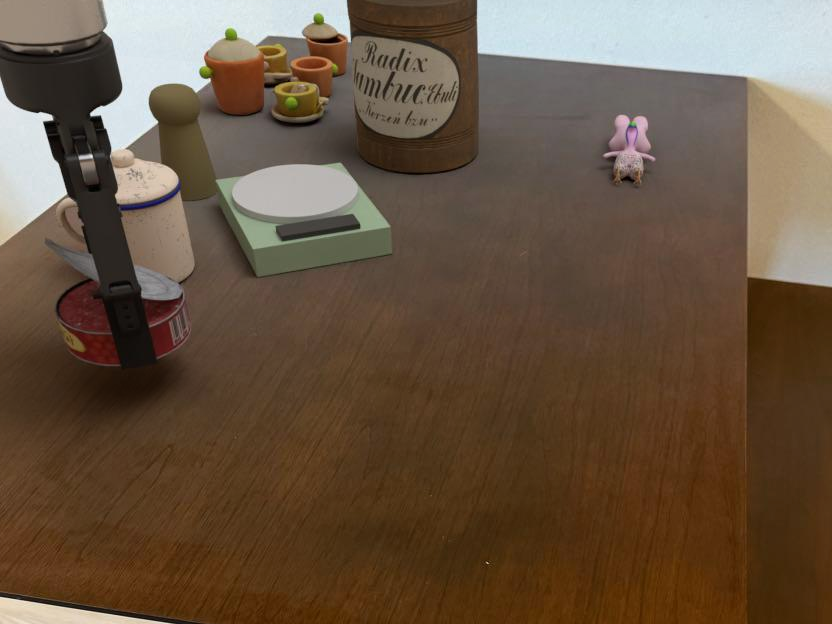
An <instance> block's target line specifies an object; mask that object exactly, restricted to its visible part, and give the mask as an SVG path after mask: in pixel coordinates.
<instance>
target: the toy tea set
mask: <svg viewBox="0 0 832 624" xmlns="http://www.w3.org/2000/svg"><path fill="white" fill-rule="evenodd" d="M312 19H313V22H312V23H309V24H308V25H306V26H305V27H304V28H303V29H302V31H301V35H302V36H303V37H304V38H305V40H306V44H307V49H308V52H309V56H302V57H298V58H295V59H293V60H292V61H290V63H289V66H290V67H289V66H288V51H287V49H286V48H284V47H283V45H282V44H280V43H275V44H274V45H268V44H265V45H259V46H256V44H255V45H254V44H253V43H252V42H251V41H249V40H246V39H245V38H243V37H240V36H239V37H238V33H237V30H236V29H234V28H232V27H229V28H227V29H226V30H225V33H224V36H225V37H224V38H221V39H219V40H218V41H216V42H215V43H214V44H213V45H212V46H211V47H210V49H208V50H207V51H205V53H204V55H203V60H204V64H205V65H204V66H201V67H200V68H199V70H198V72H199V76H200V77H201V78H202V79H205V80H210V83H211V86H212V89H213V93H214V95H215V99H216V103H217V105H218V108H219V109H220V110H221V111H222V112H223V113H226V114H229V115H235V116H244V115H251V114H252V115H253V114H256V113H258V112H260V111H261V110H262V109H263V107H264V105H265V85H275V87H274V88H273V93H274V96H275V100H276V104H275V105H273V106H272V107H271V109H270V112H271V115H272V117H273V118H274V119H277V120H279V121H281V122H284V123H290V124H303V123H310V122H312V121H315V120H318V119H320V118H321V117H322V116H323V115H324V111H325V110H324V107H323V106H328V105H329V104H330V98H328V97H330V96H331V94H332V89H333V88H332V87H333V77H336V76H340V75H342V74H344V73H345V72H346V70H347V61H348V60H347V59H348V44H349V43H348V42H349V38H348V36H347V35H345V34H344V33H340V32H338V30H337V29H336V28H335V27H334V26H333V25H331V24H330V23H327V22H325V17H324V15H323V14H322V13H320V12H318V13H315V14H314V15H313V17H312ZM289 80H290V81H289ZM288 81H289V82H288Z"/></svg>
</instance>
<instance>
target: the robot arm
mask: <svg viewBox="0 0 832 624" xmlns="http://www.w3.org/2000/svg"><path fill="white" fill-rule="evenodd" d="M108 24H109V23H108V18H107V14H106V10H105V4H104V1H103V0H0V83H1V85H2V88H3V92H4V94H5V97H6V99H7V100H8V102H10V103H11V104H12V105H13V106H14V107H17V108H18V109H19V110H22V111H25V112H30V113H34V114H40V113H43V114H46V115H49V116H51V117H52V119H51V120H43V121H42V124H43V128H44V131H45V134H46V138H47V141H48V145H49V148H50V153H51V155H52V158H53V160H54V161H55V162H56V163H57V164H58V167H59V170H60V173H61V178H62V180H63V184H64V188H65V191H66V194H67V198H70V199H72V200H74V201H75V202H76V204H77V206H78V207H77V212H76V213H77V217H78V219H79V220H81V223H82V224H83V225H81V226H80V228H81V231H82V234H83V235H82V236H83V237H84V238H85V242H86V245H87V253H90V254H92V256H93V260H94V263H95V267H96V270H97V274H98V277H99V281H100V284H101V285H100V286H99V289H100V290H95V291H91V293H92V297H93V300H96V299H102V300H103V304H104V307H105V311H106V314H107V318H108V322H109V325H110V329H111V332H112V336H113V339H114V343H115V347H116V350H117V354H118V357H119V361H120V365H121V366H120V367H121V370H122V371H124V370H128V369H133V368H139V367H144V366H150V365H155V364H158V362H159V361H158V359H157V357H156V353H155V349H154V345H153V341H152V337H151V333H150V329H149V325H148V321H147V317H146V313H145V309H144V305H143V301H142V297H141V294H142V293H141V291H142V289H141V285H140V284H139V282H138V280H137V277H136V273H135V270H134V266H133V262H132V258H131V254H130V250H129V247H128V243H127V239H126V235H125V231H124V227H123V224H122V220H121V217H123V215H122V212H121V208H120V205H119V203H117V201H116V197H115V194H116V193H117V191H118V184H117V180H116V177H115V173H114V169H113V166H112V162H111V154H112V152H113V151H112V143H111V140H110V136H109V134H108V130H107V128H106V127H105V125H104V121H103V118H102V115H101V114H99V115H91V113H92V112H93V111H94V112H95V110H96V109H98V108H100V107H106V106H108V105H111V104H112V103H113V102H115V101H116V100H117V99H119V98H120V96H121V94H122V92H123V89H124V88H123V81H122V76H121V72H120V67H119V63H118V59H117V53H116V51H115V45H114V41H113V39H112V38H111V37H110V36H109V35H108V34H107V33H106V32H105V31H104V30H105V29H106V28H107V26H108Z"/></svg>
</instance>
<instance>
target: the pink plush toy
mask: <svg viewBox="0 0 832 624" xmlns="http://www.w3.org/2000/svg"><path fill="white" fill-rule="evenodd" d="M613 127H614V131H615V134H614V135H613V137H612V138H611V139H610V140H609V142H608V148H609V150H610V152H607V153H606V152H605V153H604V154H603V155H602V156H603V158H604V159H608V158H610V157H613V158H614V157H615V161H614V162H613V163H614V164H613V169H612V171H613V176H614V177H615V178H614V179H613V183H615V182H616V183H615V185H616V184H617V185H618V182H620V184H622V183H623V182H622V179H624V178H625V177H628V178H630V179H631V180H633V181H634V182H633V184H642V180H641V178H642V177H643V174H644V160H648V161H649V162H651V163H655V161H656V158H655V157H654V156H652V155H650V154H648V153H649V152H650V151H651V148H652V147H651V143H650V141H649V140H648V138H647V135H646V133H647V131H648V129H649V122H648V119H647V118H646V116H642V115H638V116H635V117H634V118H633V120H632V121H631V120H630V117H628V116H627V115H625V114H619V115H617V116H616V118H615V120H614V124H613Z"/></svg>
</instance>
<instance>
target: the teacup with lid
mask: <svg viewBox="0 0 832 624" xmlns="http://www.w3.org/2000/svg"><path fill="white" fill-rule="evenodd" d="M110 158H111V162H112V166H113V169H114V173H115V177H116V180H117V184H118V191H117V193H116V194H115V197H116V201H117V203H119V205H120V208H121V212H122V215H123V217H121V220H122V224H123V227H124V231H125V235H126V239H127V243H128V247H129V250H130V254H131V258H132V262H133V265H137V266H142V267H144V268H146V269H149V270H151V271H154V272H157V273H160V274H163V275H165V276H167V277H170V278H172V279H173V280H175V281H176V282H177V283H178V284H180V283H182V281H184V280H186V279H187V278H188V277H189V276H190V275H192V273H193V272H194V269H195V266H196V265H195V264H196V263H195V257H194V252H193V248H192V243H191V238H190V233H189V228H188V223H187V219H186V214H185V209H184V205H183V200H182V199H181V195H180V188H181V182H180V179H179V178H178V176H177V174H176V173H175V172H174V171H173V170H172V169H171V168H169V167H167V166H165V165H163V164H161V163H159V162H155V161H150V160H149V161H148V160H144V159H140V158H136V157H135V154H134V153H133V152H132V150H129V149H125V148H122V149H121V148H120V149H116V150H113V151H111V155H110ZM71 208H78V206H77V204H76V202H75V201H74V200H72V199H70V198H69V197H66V198H64V199H63V200H61V201H60V202H59V203H58V205H57V207H56V208H55V220H56V223H57V226H58V228H59V229H60V231H61V232H62V233H63V235H64V236H65V237H66V238H67V239H68V240H69V241H70V242H71V243H72V244H74V245H76V246H78V247H79V248H83V249H87V245H86V242H85V238H84V235H81V234H79V233H78V232H77V231H76V230H75V229H74V228H73V226H71V224H70V222H69V221H68V219H67V215H66V210H67V209H71ZM87 250H88V249H87Z"/></svg>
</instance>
